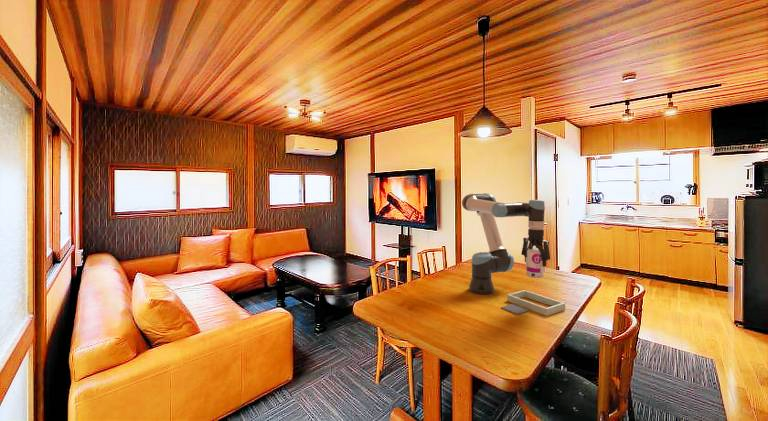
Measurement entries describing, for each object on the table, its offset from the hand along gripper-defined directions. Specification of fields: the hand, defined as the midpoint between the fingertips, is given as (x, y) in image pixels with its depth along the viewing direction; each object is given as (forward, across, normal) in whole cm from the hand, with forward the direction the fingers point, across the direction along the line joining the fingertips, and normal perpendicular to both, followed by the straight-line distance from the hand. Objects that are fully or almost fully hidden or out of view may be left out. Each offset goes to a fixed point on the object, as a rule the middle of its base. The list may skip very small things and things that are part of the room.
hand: (534, 270), depth 164 cm
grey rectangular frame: (+19, +1, 0) cm, 19 cm away
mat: (+19, 0, -14) cm, 24 cm away
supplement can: (+4, 0, 0) cm, 4 cm away
